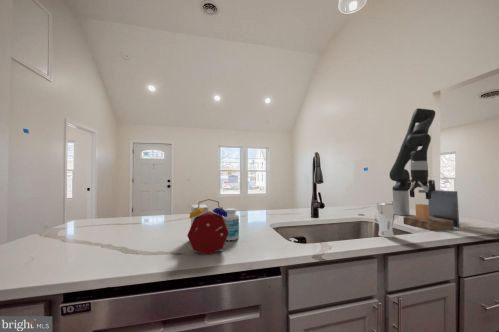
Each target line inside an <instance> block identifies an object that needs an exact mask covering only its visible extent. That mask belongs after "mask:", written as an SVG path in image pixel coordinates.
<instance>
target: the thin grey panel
mask: <svg viewBox="0 0 499 332" xmlns="http://www.w3.org/2000/svg"><path fill="white" fill-rule="evenodd" d="M418 193H420V194H421V193H422V194H426V191H425V190H424V189H418ZM427 201H428V205H429V216H430V217H436V218H441V219H447V220H452V221H453V224H454V228H456V229H460V216H459V214H460V213H459V212H460V211H459V199H458V191H456V190H455V191H454V190H441V189H440V190H439V189H435V191H433V192H431V198H430V199H427Z"/></svg>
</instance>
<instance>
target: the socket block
mask: <svg viewBox="0 0 499 332" xmlns="http://www.w3.org/2000/svg"><path fill="white" fill-rule="evenodd" d="M429 219H430V220H420V219H416V215H413V216H403V225H407V226H412V227H415V228H419V229H423V230H427V231H434V230H449V229H450V228H451V229H454V228H455V227H454V224H453V221H452V220H447V219H441V218H436V217H430V216H429Z"/></svg>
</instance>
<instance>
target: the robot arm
mask: <svg viewBox="0 0 499 332" xmlns="http://www.w3.org/2000/svg"><path fill="white" fill-rule="evenodd" d="M435 116H436V111H435V110H434V109H428V108H419V107H418V108H416V109H415V110H414V111H413V113H412V115H411V119H410V122H409V125H408V128H407V130H406V131H407V132H406V134H405V135H404V136H405V137H404V139H403V142H402V144H401V146H400V149H399V152H398V154H397V156H396V159H395V162H394V164H393V165H392V168H391V169H390V171H389V178H390V180H391V181H394V182H396V183H395V185H393V186H392V200H391V204H393V207H394V215H396V216H410V214H411V213H410V212H411V211H410V198H415V195H416V193H415V190H416V189H417V188H422V190H425V191H426V193H425V200H428V199H430V198H431V192H433V191H435V190H436V182H435V179H428V178H429V163H428V149H429V148H430V147H429V146H430V143H431V142H432V141H431V140H432V136H431V135H430V134H429V130H430V127H431V126H432V124H433V122H434V119H435V118H436V117H435ZM419 147H421V148H420V149H419ZM409 162H410V172H409V171H408V169H406V168H405V167H406V166H407V164H408V163H409Z"/></svg>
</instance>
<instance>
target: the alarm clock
mask: <svg viewBox="0 0 499 332" xmlns="http://www.w3.org/2000/svg"><path fill="white" fill-rule="evenodd" d="M207 201H211V202H215V203H217V207H215V208H214V209H212V211H209V210H208V212H206V213H204V214H202V215H200V214H201V213H203V212H205V210H206V209H207V207H208V206H207V207H206V208H205V209H204V210H203V209H202V208H200V209H197V208H199V205H201V203H203V202H207ZM197 203H198V204H197V205H198V207H197V208H196V209H195V208H194V211H192V212H191V211H190V213H189V218H188V219H191V218H193V217H195V216H197V217H195V219H194V221H193V223H192V225H191V224H190V228H189V229H188V233H187V238H188V241H189V243H190V245H191V248H192V250H193V251H194V253H195V252H196V253H197V252H199V253H202V254H204V255H206V254H209V255H211V254H214V253H215V252H218V251H220V250H222V251H223V248H224V245H225V244H226V239H227V236H228V234H229V233H228V228H227V226H226V223H225V221H224V219H223V216H224V217H228V216H227V212H226V209H225V210H224V208H223V206H221V205H220V201H218V200H214V199H211V198H207V199H205V200H204V199H203V200H201V201H198V202H197ZM198 215H199V216H198Z"/></svg>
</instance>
